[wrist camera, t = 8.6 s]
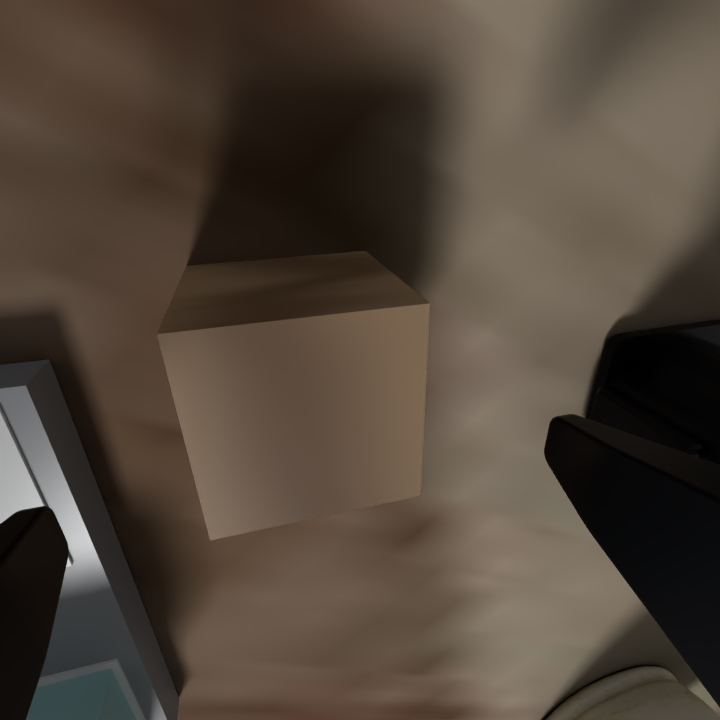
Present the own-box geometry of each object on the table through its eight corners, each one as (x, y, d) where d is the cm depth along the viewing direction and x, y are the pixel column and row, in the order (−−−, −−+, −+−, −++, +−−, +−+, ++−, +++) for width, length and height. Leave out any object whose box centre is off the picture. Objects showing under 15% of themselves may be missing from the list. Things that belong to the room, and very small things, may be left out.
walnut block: (365, 250, 13) (430, 303, 8) (368, 395, 15) (421, 495, 11) (187, 265, 12) (156, 334, 7) (219, 418, 14) (209, 540, 10)
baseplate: (49, 359, 12) (24, 387, 10) (179, 698, 19) (174, 741, 18) (-280, 396, 10) (-360, 435, 9) (0, 748, 18) (-20, 799, 16)
